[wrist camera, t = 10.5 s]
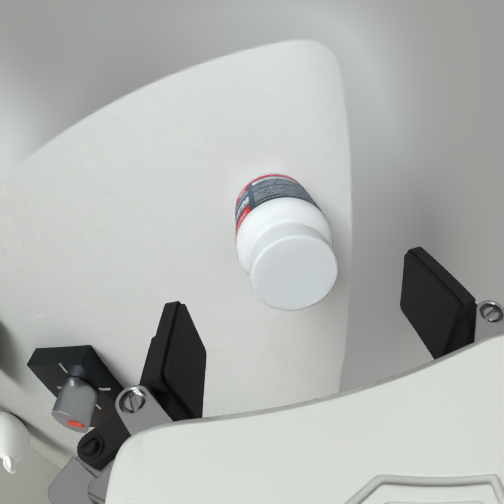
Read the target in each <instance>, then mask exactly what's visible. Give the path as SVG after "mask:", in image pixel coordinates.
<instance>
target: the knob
mask: <svg viewBox="0 0 504 504" xmlns="http://www.w3.org/2000/svg"><path fill="white" fill-rule="evenodd" d="M98 396H99V395H98V392H97V390H96V389H95V388H94V387H93V386H92V385H91V384H89V383H88V382H86V381H84V380H82V379H80V378H77V377H72V376H70V377H67V378H65V381H64V383H63V385H62V388H61V390H60V392H59V395H58V397H57V400H56V402H55V405H54V407H53V410H52V412H51V413H52V416H53V417H54V418H55V419H56V420H57V421H58V422H59V423H60V424H62V425H63V426H65V427H67V428H69V429H71V430H74V431H77V432H81V433H86V432H87V431H88V429H89V425H90V422H91V418H92V415H93V412H94V409H95V406H96V402H97V399H98Z"/></svg>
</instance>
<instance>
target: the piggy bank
mask: <svg viewBox="0 0 504 504" xmlns="http://www.w3.org/2000/svg"><path fill="white" fill-rule="evenodd" d="M29 443H30V436H29V432H28V430H27V428H26V427H25V425H24V424H23V423H22V422H21V421H20V420H19V419H18V418H17V417H15V416H14V415H12V414H9V413H6V412H0V459H1V458H2V459H4V461H3V464H4V467H5V468H6V469H7V471H8V472H10V473H11V474H14V473H15V463H18V462H20V461H21V460H22V459H23V457H24V456H25V454H26V452H27V450H28V447H29Z"/></svg>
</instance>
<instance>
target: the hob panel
mask: <svg viewBox="0 0 504 504" xmlns="http://www.w3.org/2000/svg"><path fill="white" fill-rule="evenodd" d="M27 365H28V367H29V368H30V369H31V370H32V371H33V373H34V374H35V375H36V376H37V377H38V378H39V379H40V381H41V382H42V383H43V384H44V385H45V386H46V387H47V388H48V389H49V390H50V391H51V392H52V393H53V395H54V396H55V397H56V398H57V397H58V395H59V392H60V390H61V388H62V385H63V383H64V381H65V378H67V377H70V376H72V377H77V378H80V379H82V380H84V381H86V382H88V383H89V384H91V385H92V386H93V387H94V388H95V389H96V390H97V392H98V395H99V396H98V399H97V402H96V406H95V409H94V412H93V415H92V418H91V422H90V425H89V427H97V426H98V425H99V424H101V423H102V422H103V421H105V420H106V419H107V418H109V417H110V416H112V415H113V414H114V413H116V412H117V411H116V408H115V401H116V399H117V397H118V395H119V394H120V392H122V391H123V390H124V388H123V387H122V386H121V385H120V384H119V382H118V381H117V380H116V379H115V378H114V376H113V375H112V374H111V373H110V371H109V370H108V369H107V367H106V366H105V365H104V364H103V362H102V361H101V360H100V358H99V357H98V356H97V354H96V353H95V352H94V350H93V349H92V347H91V346H90V345H85V346H72V347H56V348H36V349H35V351H34V353H33V354H32V356H31V358H30V360H29V362H28V363H27Z"/></svg>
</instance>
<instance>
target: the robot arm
mask: <svg viewBox="0 0 504 504" xmlns="http://www.w3.org/2000/svg"><path fill="white" fill-rule="evenodd" d="M400 306H401V310H402V312H403V313H404V314H405V316H406V317H407V319H408V320H409V322H410V323H411V325H412V326H413V328H414V329H415V330H416V332H417V333H418V335H419V336H420V338H421V339H422V341H423V343H424V344H425V346H426V347H427V349H428V350H429V352H430V353H431V355H432V357H433V358H434V360H433V361H430V362H428V363H426V364H423V365H421V366H418V367H416V368H413V369H411V370H408V371H406V372H403V373H400V374H397V375H395V376H392V377H389V378H386V379H383V380H380V381H377V382H374V383H371V384H368V385H364V386H362V387H358V388H354V389H351V390H348V391H344V392H340V393H337V394H333V395H329V396H325V397H321V398H317V399H313V400H309V401H304V402H300V403H295V404H290V405H285V406H280V407H275V408H269V409H263V410H257V411H251V412H244V413H237V414H230V415H222V416H214V417H204V418H202V412H203V396H204V382H205V369H206V350H205V347H204V345H203V343H202V341H201V339H200V337H199V334H198V332H197V330H196V328H195V326H194V323H193V321H192V319H191V317H190V314H189V312H188V310H187V307H186V305H185V304H181V303H180V302H179V301H176V302H171V303H166V304H165V306H164V309H163V312H162V316H161V319H160V322H159V326H158V329H157V333H156V336H154V337H153V338H152V340H151V344H150V347H149V351H148V354H147V358H146V361H145V365H144V368H143V372H142V376H141V380H140V383H139V385H133V386H130V387H128V388H126V389H124V390H123V391H122V392H120V394H119V395H118V397H117V399H116V401H115V408H116V411H117V412H116V413H114V414H113V415H112V416H110V417H109V418H107V419H106V420H105V421H103V422H102V423H101V424H99V425H98V426H97V427H95V428H94V429H93V430H91V431H90V432H88V433H87V434H86V435H84V436H83V437H82V438H81V440H80V441H79V443H78V447H77V453H78V456H77V458H74V457H72V459H71V460H70V461H69V462H68V463H67V465H66V466H65V467H64V468H63V470H62V471H61V472H60V473H59V475H58V476H57V477H56V479H55V480H54V481H53V482H52V483H51V485H50V487H49V489H48V497H49V499H50V501H51V503H52V504H504V308H503V307H502V306H501V305H500V304H499V303H497V302H495V301H490V300H488V301H487V300H486V301H482V302H481V303H479V304H478V305H477V304H476V303H475V298H474V297H473V296H472V295H471V294H470V293H469V292H468V291H467V290H466V289H465V288H464V287H463V286H462V285H461V284H460V283H459V282H458V281H457V280H456V279H455V278H454V277H453V276H452V275H451V274H450V273H449V272H448V271H447V270H446V269H445V268H444V267H443V266H442V265H440V264H439V263H438V262H437V261H436V260H435V259H434V258H433V257H432V256H431V255H429V254H428V253H427V252H426V251H425V250H424V249H423V248H422V247H416V248H413V249H409V250H408V252H407V254H405V257H404V270H403V281H402V292H401V301H400Z"/></svg>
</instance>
